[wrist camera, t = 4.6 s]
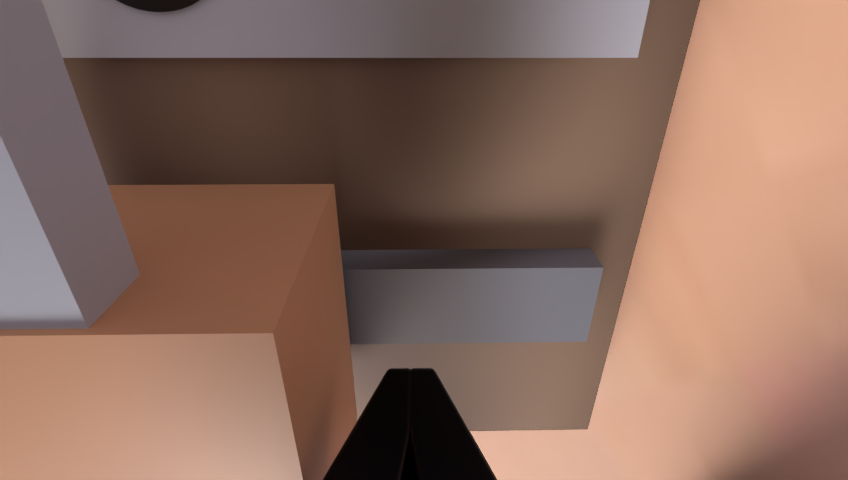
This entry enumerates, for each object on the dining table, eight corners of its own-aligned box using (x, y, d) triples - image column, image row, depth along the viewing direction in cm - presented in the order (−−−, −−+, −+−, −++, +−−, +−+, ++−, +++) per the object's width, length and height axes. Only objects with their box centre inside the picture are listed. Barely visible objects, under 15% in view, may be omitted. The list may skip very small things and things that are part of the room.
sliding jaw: (309, -127, 6) (140, -316, 2) (359, 399, 11) (330, 616, 7) (-54, -129, 6) (-842, -329, 2) (158, 402, 11) (22, 623, 7)
